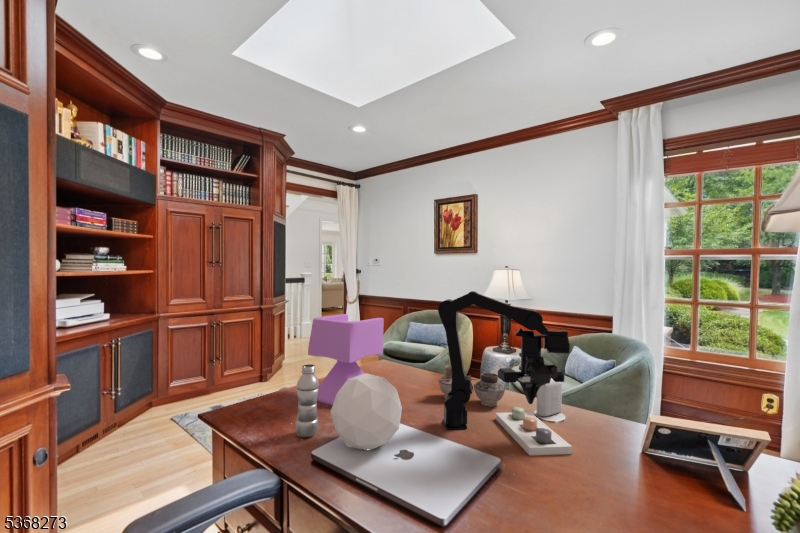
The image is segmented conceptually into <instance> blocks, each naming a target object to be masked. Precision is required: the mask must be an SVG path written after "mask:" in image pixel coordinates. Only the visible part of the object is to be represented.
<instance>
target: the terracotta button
mask: <svg viewBox="0 0 800 533" xmlns="http://www.w3.org/2000/svg"><path fill="white" fill-rule="evenodd" d="M536 429H537V419H535V418H532V417H524V418H523V430H525V431H526V432H536Z"/></svg>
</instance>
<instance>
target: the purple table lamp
mask: <svg viewBox="0 0 800 533" xmlns="http://www.w3.org/2000/svg"><path fill="white" fill-rule="evenodd" d="M384 326H385V325H384V317H376V318H375V317H374V318H369V319H363V320H357V321H356V320H353V321H351V320H350V321H349V314H348V313H343V314H335V315H334V314H333V315H328V316H327V315H326V316H318V317H314V318H313V319H312V325H311V329H310V335H309V341H308V346H307V348H308V349H307V355H308V356H312V357H322V358H323V357H324V358H330V359H333V360H336V362H335V364H333V367H332V368H331V370H330V371H329V372H328V373H327V374H326V376H325V377H324V379H323V380H322V381H321V382H320V383H319V389H318V396H317V402H319V403H322V404H326V405H330V406H333V403H334V400H335V397H336V394H337V393H338V391H339V390H340V389H341V387H342V386H343V385H344V384H345V382H346V381H347V380H348V379H350V378H353V377H356V376H359V375H362V374H365V372H364V371H363V370H362V368H361V367H360V366H359V365H358V363H357V361H360V360H362V359H364V358H366V357H370V356H377V355H381V354H384V329H385V328H384Z"/></svg>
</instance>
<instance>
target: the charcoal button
mask: <svg viewBox="0 0 800 533" xmlns="http://www.w3.org/2000/svg"><path fill="white" fill-rule="evenodd" d="M536 442H537V443H538V444H539V445H547V444H551V431H550V430H548V429H544V428H537V429H536Z"/></svg>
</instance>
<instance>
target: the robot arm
mask: <svg viewBox="0 0 800 533" xmlns="http://www.w3.org/2000/svg"><path fill="white" fill-rule="evenodd" d="M473 305H474V306H476V307H479V308H481V309H484V310H487V311H490V312H492V313H495V314H498V315H501V316H503V317H505V318H508V319H510V320H512V321H513V322H515V323H517V324H518V325H520V326H522V327H523V328H524V329H525V330H524V329H523V328H522V327H519V329H518V330H517V331H515V332H514V334H515V337H520V338H521V341H520V344H521V345H520V348H521V349H520V352H519V353H518V356H519V357H520V366H518V370H519V371H516V370H514V369H512V368H510V367H506V368H505V367H504V368H501V367H499V369H498V371H497V375H498V379H499V380H501V381H502V382H504V383H508V384H510V383H516V382H518V383H519V385H520V386H521V388H522V391H523V393H524V396H525V398H526V401H527V404H529V405H532V404H533V403H534V400H535V398H536V397H537V391H538V390H539V388H540V387H541V386H542V385H546V383H547V384H549V383H550V381H551V378H552V379H553V380H554V381H555V382H562V383H564V382H565V380H566V378H565V374H564V372H563V371H561V370H559V369H558V366H556V364H545V359H544V356H542V348H543V350H546V352H547V354H557V355H569V353H570V348H571V343H570V339H569V331H567V330H563V329H562V330H550V329H549V330H548V327H546V326H545V324H544V323H543V321H544V319H543V316H542V315H541V313H539V312H538V311H537V310H536V309H533V308H529V307H528V308H526V307H522V306H521V307H520V306H514V305H510V304H508V303H505V302H503V301H499V300H497V299H496V298H495V299H494V298H492V297H489V296H486V295H484V294H480V293H478V292H477V291H475V290H474V291H473V290H471V291H469V292H468V293H467V294H464V295H462V296H459V297H457V298H455V299H450V298H449V299H448V298H447V299H445V300H443V301H441V302H440V303H439V305H438V307H437V312H438V314H439V318H440V321H441V324H442V325H443V328H444V331H445V336H446V342H447V349H448V356H449V361H450V365H451V369H452V386H451V391H450V392H449V393H448V394H447V397H446V399H445V398H444V399H445V400H444V402H443V403H444V404H443V419H442V423H443V425H444V427H445V428H446V430H465V429H466V430H467V429H468V426H467V424H468V410H467V406H466V404H467V403H468V402H469V401H470V399H471V395H472V394H473V391H474V385H473V384H472V375H471V374H470V375H467V373H466V371H465V366H464V359H463V353H462V347H461V341H460V340H461V339H460V336H459V327H458V324H459V312H460V311H462V310H464V309H466V308H468V307H471V306H473ZM526 329H527V330H526ZM534 331H536V332H537V333H535V332H534Z"/></svg>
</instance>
